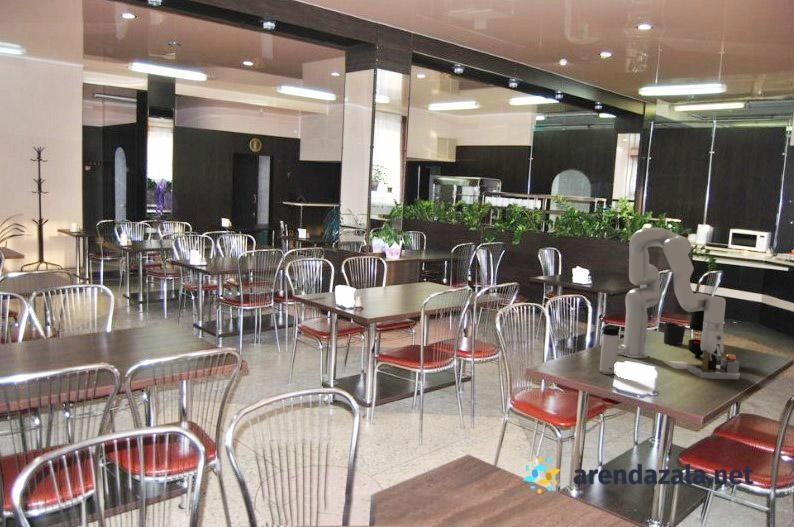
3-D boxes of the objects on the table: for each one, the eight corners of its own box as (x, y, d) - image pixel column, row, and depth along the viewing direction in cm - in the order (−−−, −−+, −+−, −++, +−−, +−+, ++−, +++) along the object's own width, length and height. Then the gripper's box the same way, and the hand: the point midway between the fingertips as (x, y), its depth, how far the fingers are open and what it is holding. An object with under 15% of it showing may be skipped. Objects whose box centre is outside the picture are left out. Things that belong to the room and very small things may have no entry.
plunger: (727, 369, 252) (729, 356, 251) (722, 367, 256) (724, 353, 255) (736, 369, 252) (737, 356, 251) (731, 367, 256) (732, 354, 255)
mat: (674, 368, 263) (674, 367, 263) (663, 362, 273) (663, 360, 273) (696, 369, 263) (696, 368, 263) (685, 362, 273) (685, 361, 273)
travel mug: (614, 376, 248) (618, 328, 246) (597, 373, 252) (601, 326, 249) (617, 372, 253) (621, 326, 251) (601, 369, 257) (605, 323, 254)
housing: (701, 378, 250) (703, 361, 249) (686, 369, 262) (688, 354, 261) (739, 379, 251) (741, 362, 250) (722, 370, 263) (724, 355, 262)
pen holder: (665, 345, 305) (667, 326, 303) (660, 341, 314) (662, 322, 313) (685, 347, 303) (687, 327, 302) (679, 342, 312) (681, 323, 311)
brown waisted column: (709, 377, 252) (712, 351, 251) (696, 372, 258) (699, 347, 256) (718, 375, 255) (721, 350, 254) (705, 371, 261) (708, 346, 259)
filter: (705, 361, 276) (712, 297, 273) (684, 357, 282) (690, 294, 278) (711, 355, 287) (717, 293, 284) (690, 352, 293) (696, 291, 289)
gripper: (733, 330, 246) (728, 374, 248) (710, 321, 262) (706, 363, 264) (715, 330, 245) (710, 374, 248) (694, 321, 262) (690, 362, 264)
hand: (708, 367), depth 256 cm, fingers closed on brown waisted column, 3 cm apart
